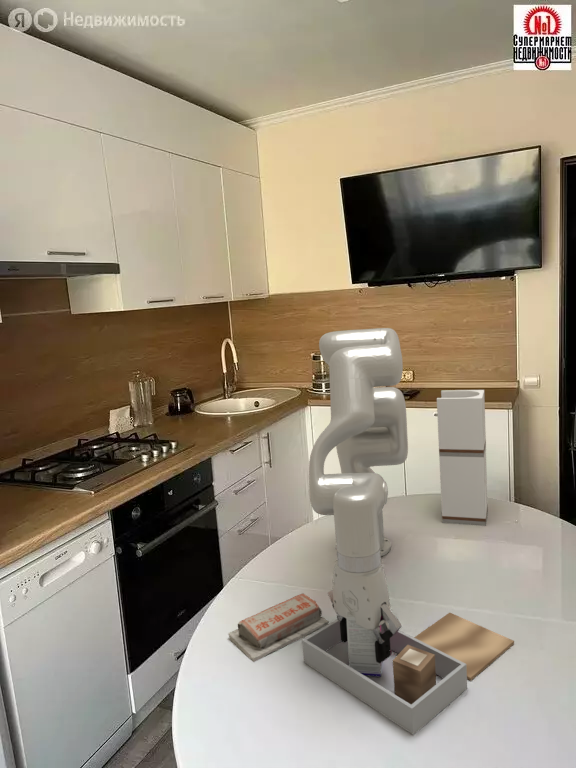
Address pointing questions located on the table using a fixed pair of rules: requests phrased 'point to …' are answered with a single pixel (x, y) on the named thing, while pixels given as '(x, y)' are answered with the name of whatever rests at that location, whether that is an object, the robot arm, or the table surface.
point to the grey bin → (378, 696)
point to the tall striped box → (462, 456)
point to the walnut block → (413, 673)
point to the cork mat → (466, 642)
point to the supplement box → (362, 648)
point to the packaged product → (278, 626)
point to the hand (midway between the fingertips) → (365, 648)
